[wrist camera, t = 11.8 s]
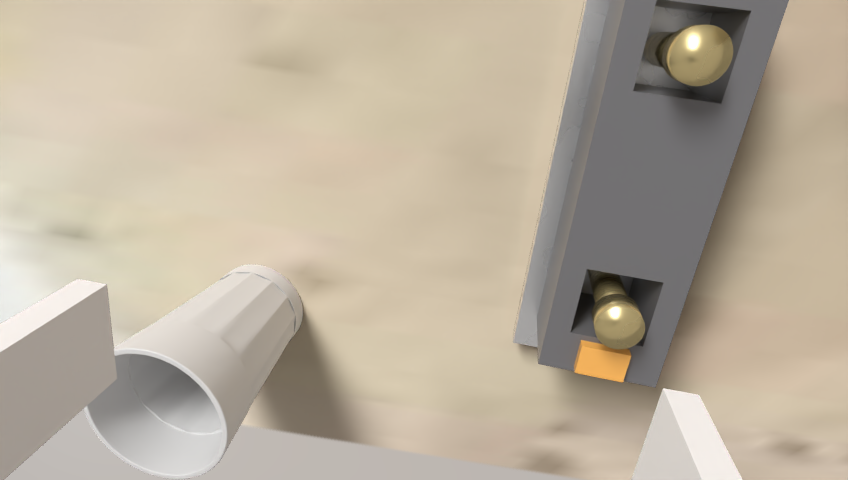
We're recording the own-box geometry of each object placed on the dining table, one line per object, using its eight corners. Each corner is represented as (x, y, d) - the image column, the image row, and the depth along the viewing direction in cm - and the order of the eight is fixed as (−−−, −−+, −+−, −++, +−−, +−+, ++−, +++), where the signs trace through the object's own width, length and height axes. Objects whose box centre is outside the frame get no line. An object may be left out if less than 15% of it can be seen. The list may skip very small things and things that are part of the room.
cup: (243, 230, 37) (120, 318, 26) (336, 305, 37) (256, 421, 26) (188, 305, 40) (57, 413, 29) (275, 373, 41) (180, 503, 29)
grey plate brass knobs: (639, 355, 35) (671, 448, 27) (513, 330, 36) (509, 414, 28) (778, -76, 26) (885, -120, 18) (604, -94, 27) (635, -143, 19)
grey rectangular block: (637, 336, 33) (658, 394, 28) (536, 317, 33) (538, 370, 28) (755, -36, 25) (812, -51, 20) (621, -51, 26) (644, -69, 21)
